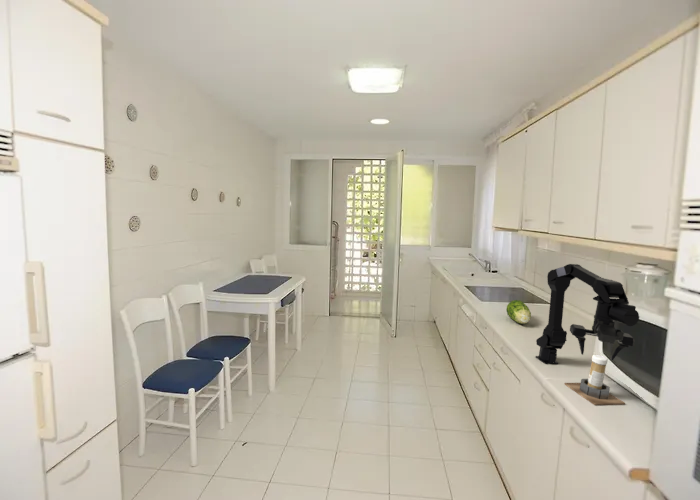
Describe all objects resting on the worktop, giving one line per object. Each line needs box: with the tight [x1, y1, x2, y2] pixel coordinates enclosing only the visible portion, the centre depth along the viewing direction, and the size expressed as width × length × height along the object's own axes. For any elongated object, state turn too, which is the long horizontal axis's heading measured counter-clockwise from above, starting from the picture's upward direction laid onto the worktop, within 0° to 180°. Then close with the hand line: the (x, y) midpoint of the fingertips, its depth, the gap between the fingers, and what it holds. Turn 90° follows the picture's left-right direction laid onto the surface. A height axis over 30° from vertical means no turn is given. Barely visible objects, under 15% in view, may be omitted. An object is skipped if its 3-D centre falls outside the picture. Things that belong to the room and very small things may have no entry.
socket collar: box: [579, 378, 611, 399], centre depth 133 cm, size 9×9×3 cm
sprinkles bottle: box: [587, 354, 608, 390], centre depth 132 cm, size 5×5×13 cm
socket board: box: [564, 382, 626, 406], centre depth 133 cm, size 14×12×1 cm
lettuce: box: [506, 299, 532, 324], centre depth 210 cm, size 12×21×11 cm, turn 171°
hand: (596, 357), depth 134 cm, fingers open, 9 cm apart
